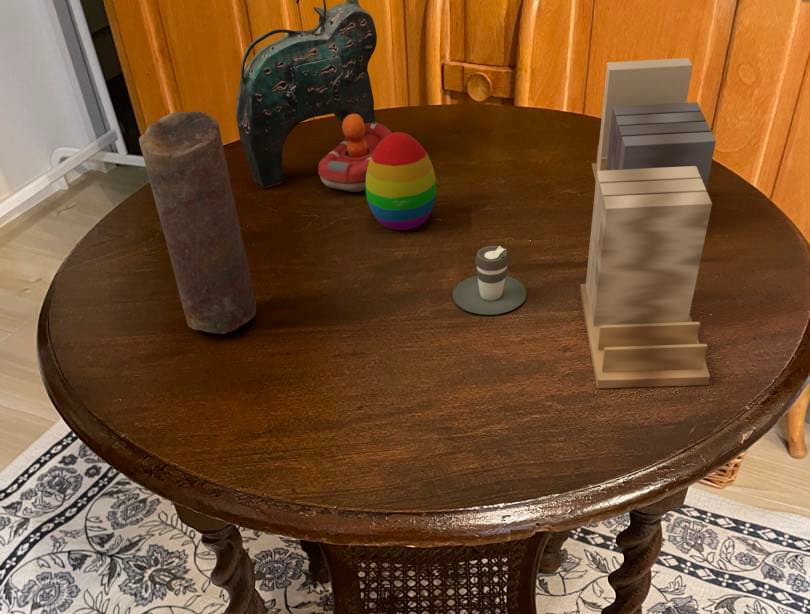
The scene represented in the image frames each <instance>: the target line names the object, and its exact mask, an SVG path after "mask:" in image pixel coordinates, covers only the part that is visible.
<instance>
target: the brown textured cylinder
mask: <svg viewBox="0 0 810 614" xmlns="http://www.w3.org/2000/svg"><path fill="white" fill-rule="evenodd" d="M138 142H139V146H140V151H141V154H142V158H143V162H144V165H145V169H146V172H147V177H148V180H149V184H150V188H151V191H152V195H153V198H154V202H155V207H156V210H157V213H158V217H159V221H160V224H161V228H162V231H163V235H164V239H165V244H166V247H167V250H168V255H169V258H170V262H171V266H172V270H173V274H174V278H175V281H176V285H177V290H178V293H179V298H180V301H181V305H182V309H183V311H184V312H183V313H184V316H185V320H186V323H187V326H188V328H190V329H192V330H194V331H202V332H205V333H210V334H217V335H219V334H220V335H226V334H227V333H231V332H234V331H236V330H238V329H239V328H240V327H241V326H243V325H245V324H246V323H248V322H250V321H251V320H252V319H253V318H254V317H256V313H257V303H256V297H255V292H254V288H253V282H252V277H251V273H250V268H249V263H248V259H247V253H246V249H245V243H244V240H243V236H242V232H241V231H242V230H241V227H240V222H239V217H238V212H237V208H236V203H235V198H234V193H233V189H232V183H231V178H230V173H229V168H228V164H227V157H226V153H225V149H224V148H225V147H224V144H223V140H222V134H221V129H220V124H219V122H218V119H216V118H215V117H213V116H212V115H210V114H207V113H206V112H202V111H199V110H193V111H181V112H180V111H176V112H171V113H170V114H167V115H164V116H163V117H161V118H159V119H158V120H155V121H154V122H152V123H151V124H150V125H148V127H147V128H146V129H145V132H144V134H142V135H141V136H139V137H138Z"/></svg>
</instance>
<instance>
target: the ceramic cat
mask: <svg viewBox="0 0 810 614" xmlns="http://www.w3.org/2000/svg"><path fill="white" fill-rule="evenodd" d="M294 1H295V4H297V5H299V3H300V0H294ZM322 2H323V7H322V6H313V10H314V12H315V13H317V15H319V16H318V22H317V23H316V24H317V26H316V27H314V28H311V29H307V30H291V29H286V28H280V29H279V28H278V29H277V28H275V29H272V30H270V31H268V32H266V33H264V34H262V35H260V36H259V37H257V38H255V40H253V41H252V42H251V43H249V45H248V46H247V48H246V50H245V51H244V52H243V57H242V60H241V66H240V80H239V85H238V91H237V97H236V101H235V117H236V119H235V120H236V126H237V129H238V136H239V140H240V143H241V147H242V148H243V151H244V154H245V156H246V159H247V162H248V164H249V168H250V171H251V175H252V178H253V181H254V183H256V182H257V183H258V184H260V185H261V186H262V187H267V186H271V185H274V184H277V183H279V182H283V181H284V182H285V175H284V169H283V148H284V145H285V143H286V140H287V138H288V136H289V135H290V133H291V132H293V130H294V129H295V128H296V127H297V126H298V125H300V124H301V123H303V122H305V121H308V120H309V119H313V118H317V117H322V116H329V115H334V116H335V118H336V119H337V122H338V123H339V126H340V128H341V129H342V123H343V120H344V119H345V118H346V117H347V116H348V115H350V114H358V115H360V116H361V118H362V119H363V122H364V124H366V123H376V117H375V100H374V93H373V89H372V84H371V78H370V73H369V71H368V66H369V63H370V60H371V58H372V56H373V54H374V53H375V50H376V47H377V43H378V35H377V34H378V33H377V29H376V23H375V20H374V18H373V16H372V15H371V14H370V13H369V12H368V11H367V10H366V9H364V8H363V7H362V6H361V4H360V3H359V0H345V2H342V3H339V4H335V5H333V6H332V7H329V8H328V9H327V3H326V0H322ZM275 34H276V35H277V34H285V35H283V36H281V37H280V38H278V39H276V40H274V41H273V42H272V43H269V44H266V45H265V46H263V47H261V48H260V49H258V51H256V52H255V54H254V56H253V57H252V58H251V59H250V60H249V61H248V62H247V60H248V57H249V55H250V53H251V52H252V50H253V48H254V47H255V46H256V45H258V44H259V43H260V42H262V41H264V40H266V39H267V38H268V37H270V36H273V35H275ZM246 62H247V64H246ZM343 136H344V139H345V138H346V136H345V135H344V134H343ZM284 182H283V183H284ZM257 183H256V184H257ZM258 184H257V185H258ZM260 185H259V186H260ZM261 186H260V187H261ZM262 187H261V188H262Z"/></svg>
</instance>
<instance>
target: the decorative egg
mask: <svg viewBox="0 0 810 614" xmlns="http://www.w3.org/2000/svg"><path fill="white" fill-rule="evenodd" d="M436 178H437V177H436V173H435V168H434V165H433V163H432V161H431V158H430V156H429V155H428V153H427V151H426V149H425V148H424V147H423V146H422V145H421V143H420V142H419V141H418V140H417V139H416V138H414V137H413V136H412V135H410V134H409V133H405V132H401V131H395V132H392V133H391V134H389V135H387V136H386V137H385V138H383V139H382V140H381V142H380V143H379V144H378V145H377V147H376V148H375V150H374V152H373V154H372V156H371V158H370V161H369V164H368V168H367V173H366V190H365V196H366V201H367V204H368V206H369V210H370V212H371V213H372V215H373V216H374V218H375V219H376V221H377V222H378V223H379V224H380V225H382V227H385V228H386V229H389V230H393V231H408V230H409V231H410V230H413V229H417V228H419V227H420V226H422V225H423V224H424V223H425V222H426V221H427V220H428V219H429V217H430V215H431V214H432V211H433V209H434V207H435V203H436V198H437V179H436Z"/></svg>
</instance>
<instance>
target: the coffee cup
mask: <svg viewBox="0 0 810 614" xmlns="http://www.w3.org/2000/svg"><path fill="white" fill-rule="evenodd" d="M509 258H510V257H509V254H508V250H507V248H504V247H502V246H501V245H499V246H498V245H487V246H484V247H481V248H479V250H477V252H476V255H475V258H474V262H475V266H476V275H473V276H470V277H467V278H465V279H464V280H461V281H460V282H458V283H457V284H456V286H455V287H454V289H453V291H452V295H451V296H452V300H453V301H454V303H455V304H456V305H457V306H458V307H459V308H460V309H461V310H464V311H466V312H468V313H472V314H475V315H482V316H496V315H501V314H506V313H509V312H512V311H514V310H517V309H518V308H519V307H520V306H522V305H523V304H524V303H525V301H526V299H527V296H528V292H527V288H526V286H525V285H524V283H522V282H521V281H520V280H519V279H517V278H514V277H512V276H509V275H508V265H509V264H510V259H509Z"/></svg>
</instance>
